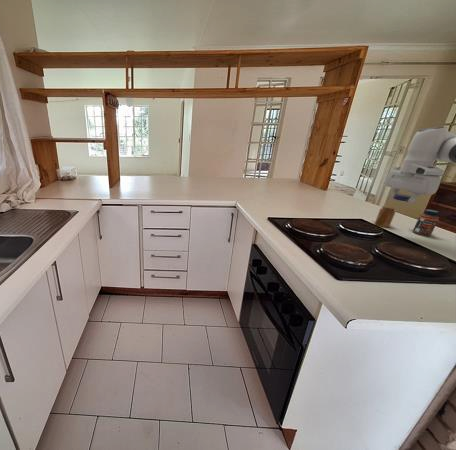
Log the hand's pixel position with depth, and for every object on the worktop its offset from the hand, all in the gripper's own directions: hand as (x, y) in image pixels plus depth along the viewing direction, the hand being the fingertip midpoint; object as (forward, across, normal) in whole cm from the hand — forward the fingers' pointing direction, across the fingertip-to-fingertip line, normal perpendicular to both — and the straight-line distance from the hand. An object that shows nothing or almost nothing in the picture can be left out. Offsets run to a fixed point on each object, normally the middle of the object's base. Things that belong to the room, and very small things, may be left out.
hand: (402, 200), depth 104 cm
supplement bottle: (+16, -2, +16) cm, 22 cm away
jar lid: (-2, 0, 0) cm, 2 cm away
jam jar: (+16, -12, +6) cm, 20 cm away
